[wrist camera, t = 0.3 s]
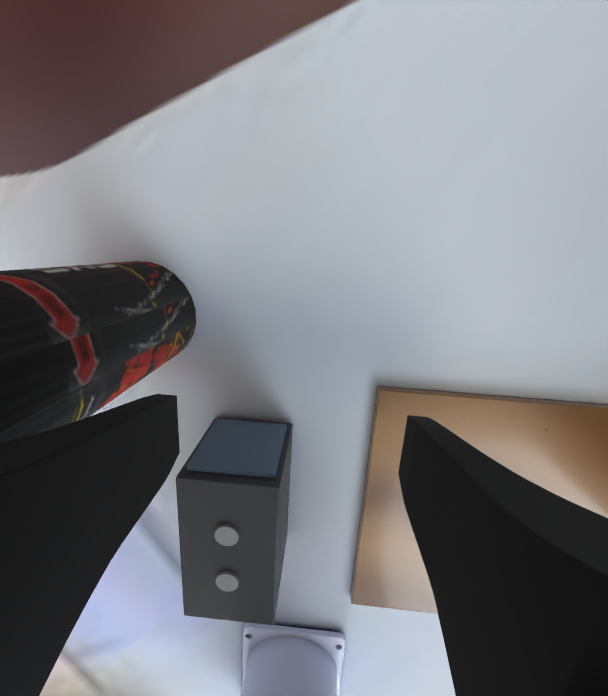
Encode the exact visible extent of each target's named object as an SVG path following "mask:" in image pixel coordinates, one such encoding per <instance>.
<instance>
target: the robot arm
mask: <svg viewBox="0 0 608 696" xmlns="http://www.w3.org/2000/svg"><path fill="white" fill-rule="evenodd" d="M179 453H180V452H179V433H178V414H177V396H174V395H163V394H156V395H151V396H147V397H144V398H141V399H138V400H135V401H132V402H129V403H126V404H124V405H121V406H118V407H115V408H113V409H110V410H107V411H104V412H102V413H99V414H96V415H93V416H90V417H87V418H84V419H81V420H78V421H75V422H72V423H69V424H66V425H63V426H60V427H57V428H54V429H51V430H47V431H44V432H40V433H37V434H33V435H29V436H26V437H22V438H18V439H14V440H10V441H6V442H2V443H0V696H39V695H40V693H41V691H42V689H43V687H44V685H45V683H46V681H47V679H48V677H49V675H50V673H51V671H52V669H53V667H54V665H55V663H56V661H57V659H58V657H59V655H60V653H61V651H62V649H63V647H64V645H65V643H66V641H67V639H68V637H69V635H70V634H71V632H72V630H73V628H74V626H75V624H76V622H77V620H78V619H79V617H80V615H81V613H82V611H83V609H84V607H85V605H86V604H87V602H88V600H89V598H90V596H91V594H92V593H93V591H94V589H95V587H96V586H97V584H98V582H99V580H100V579H101V577H102V575H103V573H104V571H105V570H106V568H107V566H108V564H109V563H110V561H111V559H112V558H113V556H114V555H115V553H116V552H117V550H118V548H119V547H120V545H121V544H122V542H123V541H124V540H125V538H126V537H127V535H128V534H129V532H130V531H131V530H132V528H133V527H134V525H135V524H136V522H137V521H138V520H139V518H140V517H141V515H142V514H143V512H144V511H145V510H146V508H147V507H148V505H149V504H150V502H151V501H152V499H153V498H154V497H155V495H156V494H157V492H158V491H159V489H160V488H161V486H162V485H163V483H164V482H165V480H166V479H167V477H168V475H169V473H170V471H171V469H172V467H173V465H174V463H175V461H176V459H177V457H178V455H179ZM398 474H399V480H400V485H401V491H402V496H403V501H404V505H405V508H406V511H407V514H408V517H409V520H410V523H411V527H412V530H413V533H414V536H415V539H416V542H417V545H418V548H419V550H420V553H421V556H422V559H423V562H424V565H425V568H426V571H427V574H428V577H429V581H430V584H431V588H432V591H433V595H434V599H435V603H436V607H437V612H438V616H439V620H440V625H441V629H442V633H443V638H444V642H445V647H446V651H447V656H448V661H449V666H450V670H451V675H452V680H453V684H454V689H455V694H456V696H608V518H606V517H604V516H602V515H600V514H597V513H595V512H593V511H591V510H588V509H586V508H584V507H581V506H579V505H577V504H575V503H573V502H570V501H568V500H566V499H564V498H562V497H560V496H558V495H556V494H554V493H552V492H550V491H548V490H546V489H544V488H542V487H540V486H539V485H537V484H535V483H533V482H531V481H529V480H527V479H525V478H523V477H522V476H520V475H518V474H516V473H515V472H513V471H511V470H510V469H508V468H506V467H505V466H503V465H501V464H500V463H498V462H496V461H495V460H493V459H492V458H490V457H488V456H487V455H485V454H484V453H482V452H481V451H479V450H478V449H476V448H475V447H473V446H472V445H470V444H469V443H467V442H466V441H464V440H463V439H461V438H460V437H459V436H457V435H456V434H454V433H453V432H451V431H450V430H448V429H447V428H445V427H444V426H442V425H441V424H439V423H438V422H436V421H435V420H433V419H431V418H429V417H423V416H411V415H408V416H407V422H406V428H405V434H404V440H403V447H402V453H401V459H400V465H399V471H398ZM345 645H346V637H345V635H344V634H343V633H340V632H331V631H323V630H314V629H305V628H297V627H288V626H279V625H265V624H256V623H245V624H244V627H243V652H242V691H241V696H339V691H340V683H341V675H342V668H343V660H344V652H345Z"/></svg>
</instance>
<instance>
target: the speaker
mask: <svg viewBox="0 0 608 696" xmlns="http://www.w3.org/2000/svg"><path fill="white" fill-rule="evenodd" d="M292 426H293V425H292V424H286V423H275V422H263V421H251V420H239V419H228V418H215V419H214V421H213V422H212V424H211V425H210V427H209V428H208V430H207V431H206V433H205V434H204V436H203V437H202V439H201V440H200V442H199V443H198V445H197V446H196V448H195V449H194V451H193V452H192V454H191V455H190V457H189V458H188V460H187V462H186V463H185V465H184V466H183V468H182V469H181V471H180V472H179V474H178V475H177V477H176V488H177V505H178V521H179V537H180V554H181V570H182V586H183V603H184V615H187V616H195V617H204V618H213V619H221V620H230V621H239V622H247V623H256V624H265V625H274V621H275V614H276V607H277V600H278V593H279V586H280V579H281V572H282V565H283V558H284V551H285V544H286V537H287V520H288V501H289V483H290V464H291V445H292Z"/></svg>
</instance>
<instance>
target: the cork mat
mask: <svg viewBox="0 0 608 696" xmlns="http://www.w3.org/2000/svg"><path fill="white" fill-rule="evenodd" d="M408 415H411V416H423V417H429V418H431V419H433V420H435V421H436V422H438V423H439V424H441V425H442V426H444V427H445V428H447V429H448V430H450V431H451V432H453V433H454V434H456V435H457V436H459V437H460V438H461V439H463V440H464V441H466V442H467V443H469V444H470V445H472V446H473V447H475V448H476V449H478V450H479V451H481V452H482V453H484V454H485V455H487V456H488V457H490V458H492V459H493V460H495V461H496V462H498V463H500V464H501V465H503V466H505V467H506V468H508V469H510V470H511V471H513V472H515V473H516V474H518V475H520V476H522V477H523V478H525V479H527V480H529V481H531V482H533V483H535V484H537V485H539V486H540V487H542V488H544V489H546V490H548V491H550V492H552V493H554V494H556V495H558V496H560V497H562V498H564V499H566V500H568V501H570V502H573V503H575V504H577V505H579V506H581V507H584V508H586V509H588V510H591V511H593V512H595V513H597V514H600V515H602V516H604V517H606V518H608V405H603V404H590V403H578V402H565V401H552V400H540V399H527V398H515V397H502V396H489V395H477V394H464V393H451V392H439V391H426V390H413V389H401V388H388V387H378V389H377V396H376V404H375V412H374V420H373V427H372V435H371V443H370V451H369V458H368V466H367V474H366V481H365V489H364V497H363V505H362V512H361V520H360V528H359V535H358V543H357V551H356V559H355V566H354V574H353V582H352V589H351V604H356V605H365V606H374V607H383V608H392V609H401V610H410V611H419V612H428V613H438V612H437V607H436V603H435V599H434V595H433V591H432V588H431V584H430V581H429V577H428V574H427V571H426V568H425V565H424V562H423V559H422V556H421V553H420V550H419V548H418V545H417V542H416V539H415V536H414V533H413V530H412V527H411V523H410V520H409V517H408V514H407V511H406V508H405V505H404V501H403V496H402V491H401V485H400V480H399V474H398V471H399V465H400V459H401V453H402V447H403V440H404V434H405V428H406V422H407V416H408Z"/></svg>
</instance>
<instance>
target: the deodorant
mask: <svg viewBox="0 0 608 696" xmlns="http://www.w3.org/2000/svg"><path fill="white" fill-rule="evenodd" d="M195 324H196V317H195V307H194V304H193V301H192V297H191V295H190V294H189V292H188V290H187V288H186V287H185V285H184V284H183V283H182V282H181V281H180V280H179V279H178V278H177V277H176V276H175V275H174V274H173V273H172V272H170V271H169V270H167V269H165V268H164V267H162V266H159V265H156V264H153V263H150V262H138V261H134V262H120V263H106V264H92V265H78V266H64V267H50V268H36V269H23V270H9V271H0V443H2V442H6V441H10V440H14V439H18V438H22V437H26V436H29V435H33V434H37V433H40V432H44V431H47V430H51V429H54V428H57V427H60V426H63V425H66V424H69V423H72V422H75V421H78V420H81V419H84V418H87V417H89V416H90V415H92V414H93V413H94V412H96V411H97V410H99V409H100V408H102V407H103V406H104V405H106V404H107V403H109V402H110V401H111V400H113V399H114V398H116V397H117V396H119V395H120V394H121V393H123V392H124V391H126V390H127V389H128V388H130V387H131V386H133V385H134V384H136V383H137V382H138V381H140V380H141V379H143V378H144V377H146V376H147V375H148V374H150V373H151V372H153V371H154V370H155V369H157V368H158V367H160V366H161V365H163V364H164V363H165V362H167V361H168V360H170V359H171V358H172V357H174V356H175V355H177V354H178V353H179V352H180V351H182V350H183V349H184V348H185V347H186V346H187V345H188V343H189V341H190V339H191V337H192V336H193V333H194V328H195Z"/></svg>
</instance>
